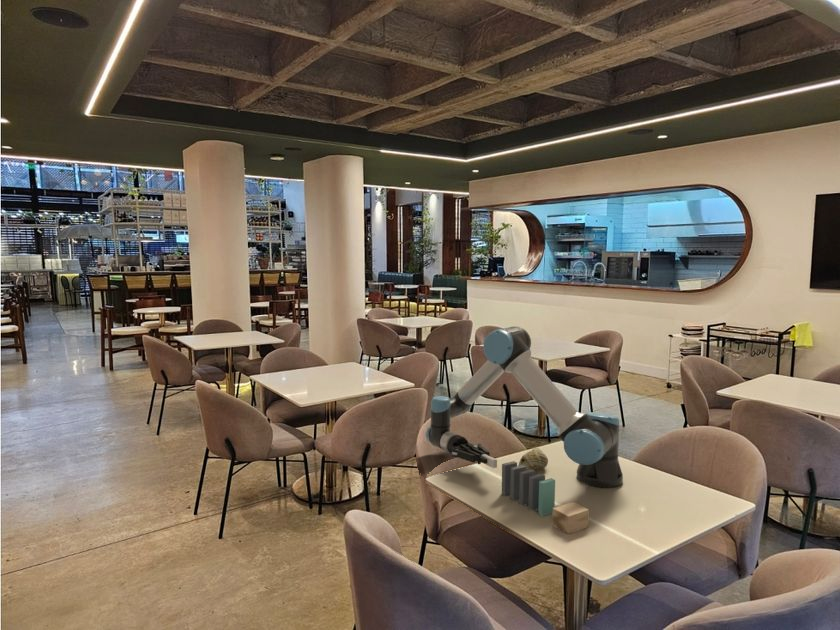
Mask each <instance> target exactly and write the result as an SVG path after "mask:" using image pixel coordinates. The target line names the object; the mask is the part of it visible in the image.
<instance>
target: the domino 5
mask: <svg viewBox="0 0 840 630" xmlns="http://www.w3.org/2000/svg"><path fill="white" fill-rule="evenodd" d="M555 501H556V479H554V478H547V479H545V480H543V481H539V509H537V510H538V515H539V516H541V517H544V516H547V515H550V514H551V515H552V514H553V508H555V506H556V505H555V504H556V502H555Z"/></svg>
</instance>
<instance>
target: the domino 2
mask: <svg viewBox="0 0 840 630" xmlns="http://www.w3.org/2000/svg"><path fill="white" fill-rule="evenodd" d="M523 471H526V466H523V465H521V466H519V465H517V467H513V468H511V479H510V494H509V496H510V497H509V499H510V500H512V501H517V500H519V487H520V472H523Z"/></svg>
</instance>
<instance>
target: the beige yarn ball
mask: <svg viewBox="0 0 840 630" xmlns="http://www.w3.org/2000/svg"><path fill="white" fill-rule="evenodd" d="M548 463H549V459H548V457H547V455H546V453H545V452H543V450H542V449H540V448H539V447H535V448H532V449H531V450H530V451H527V452H526V453H525V454H523V455H522V457H520V459H519V462H518V466H521V465H523V466H526V471H527V470H531V469H532V470H534V471H535V470H536V469H538V470H542V469H545V468H546V467H547V466H548V465H549V464H548Z"/></svg>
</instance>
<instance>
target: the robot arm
mask: <svg viewBox="0 0 840 630" xmlns="http://www.w3.org/2000/svg"><path fill="white" fill-rule="evenodd" d="M531 346H532V339H531V336H530V334H529V333H528V331H527V330H525V329H524V328H522V327H521V326H509V327H505V328H497V329H495V330H492V331H491V332H489V333H488V334H487V335H486V336H485V338H484V340H483V347H482V348H483V354H484V356H485V357H486V362H485V363H483V365H481V366H480V367H479V369H478V370H477V371H476V372H475V373H474V374H473V375H472V376H471V377H470V378H469V379H468V381H466V383H464V385H463V386H462V387H461V388H459V390H458V391H457V392H456V393H455V394H454V395H453V396H451V397H448V396H445V395H438V396H434V397H432V398H431V400H430V425H429V427H428V428H427V429H426V432H425V438H426V440H427V441H428V443H430V444H431V445H432V446H434V447H437V448H440V449H441V450H442V451H445V452H447V453H449V454H450V455H451V457H453V458H458V459H461V460H464V461H468V462H470V463H474V464H475V463H476V462H477V465H481V464H484V465H486V466H488V467H490V468H492V469H497V468H498V459H496V458H494V457H492V456H490V455H491V454H490V453H491V452H490V451H489V450H487V449H486V448H485V447H483V445H482V444H481V443H477V444H476V445H475V444H473V443H469V441H468V439H467V438H466V437H464V436H461V435H460V434H458V433H455V432H453V431H451V419H454V418H455V417H458V416H461V415H464V414H466V413H467V412H468V411H470V410H471V409H472V405H473V404H474V403H475V402H476V401H477V399H479V397H481V396H482V395H483V394H484V393H485V392H486V391H487V390H488V389H489V388H490V386H492V385H493V384H494V382H496V381H497V380H498V379H499V378H500V377H501V376H502V375H503V373H504V372H505V373H509V374H511V375H513V377H514V378H515V379H516V380H517V382H518V383H520V386H522V387H523V388H524V389H525V391H526V392H527V393H528V394H529V395H530V397H532V399H533V400H534V401H535V403H536V404H537V405H538V406H539V407H540V409H541V410H542V412H544V413H545V415H546V416H547V417H548V419H550V420H551V422H552V423H553V424H554V426H556V427H557V436H558V437H559V439H560V440H561V441H562V442H563V449H564V453H565V454H566V456H567V457H568V459H570V460H571V461H572V462H574V463H575V464H578V467H577V469H576V479H578V481H579V482H581V483H583V484H586V485H589V486H592V487H598V488H616V487H619V486H621V485H622V484H623V479H624V478H623V477H624V475H623V472H622V469H621V464H620V462H619V442H620V439H619V438H620V428H621V425H620V419H619V417H618V416H616V415H614V414H610V413H605V412H604V413H603V412H596V411H595V412H593V411H592V412H591V411H588V412H579V411H578V410H577V409H576V407H575V406H573V404H572V403H571V402H570V401H569V400H568V398H567V397H566V396H565V395H564V394H563V393H562V392H561V390H560V389H559V388H558V387H557V386H556V385H555V384H554V382H553V381H552V380H551V379H550V377H548V375H547V374H546V373H545V372H544V370H543V369H542V368H541V367H540V366H539V365H538V363H537V362H536V361H535V360H534V359H533V358H532V350H531Z"/></svg>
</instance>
